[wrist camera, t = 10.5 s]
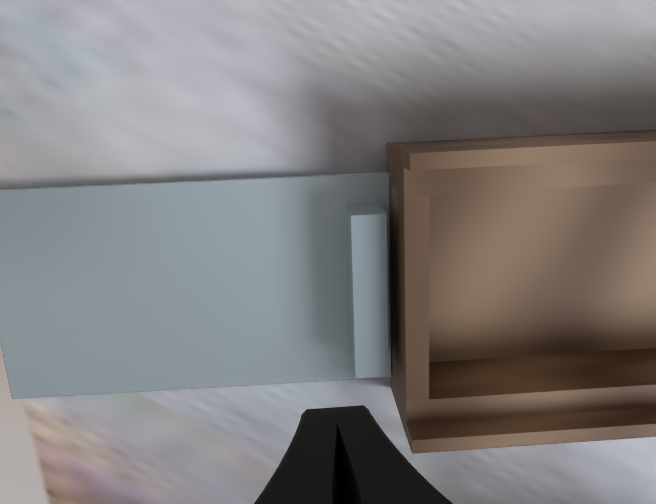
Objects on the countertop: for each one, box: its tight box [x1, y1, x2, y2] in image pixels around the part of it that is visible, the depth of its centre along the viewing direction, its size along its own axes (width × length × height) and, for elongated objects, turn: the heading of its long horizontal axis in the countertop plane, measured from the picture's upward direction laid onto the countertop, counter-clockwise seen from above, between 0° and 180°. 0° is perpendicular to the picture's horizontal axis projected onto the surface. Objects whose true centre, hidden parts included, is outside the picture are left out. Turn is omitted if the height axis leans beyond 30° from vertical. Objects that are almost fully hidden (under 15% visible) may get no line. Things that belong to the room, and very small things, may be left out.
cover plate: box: [0, 172, 391, 399], centre depth 20 cm, size 15×8×3 cm, turn 92°
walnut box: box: [387, 130, 656, 453], centre depth 20 cm, size 16×10×4 cm, turn 93°
